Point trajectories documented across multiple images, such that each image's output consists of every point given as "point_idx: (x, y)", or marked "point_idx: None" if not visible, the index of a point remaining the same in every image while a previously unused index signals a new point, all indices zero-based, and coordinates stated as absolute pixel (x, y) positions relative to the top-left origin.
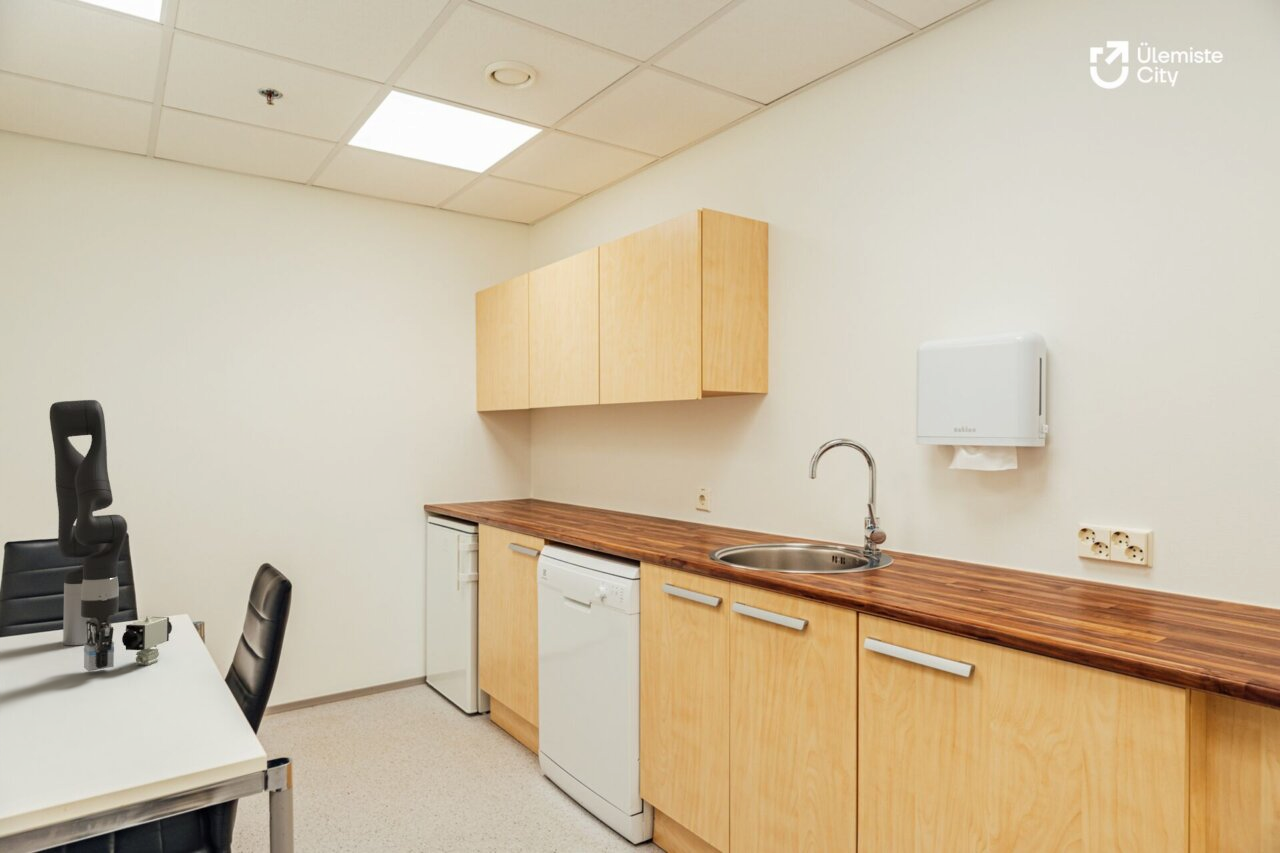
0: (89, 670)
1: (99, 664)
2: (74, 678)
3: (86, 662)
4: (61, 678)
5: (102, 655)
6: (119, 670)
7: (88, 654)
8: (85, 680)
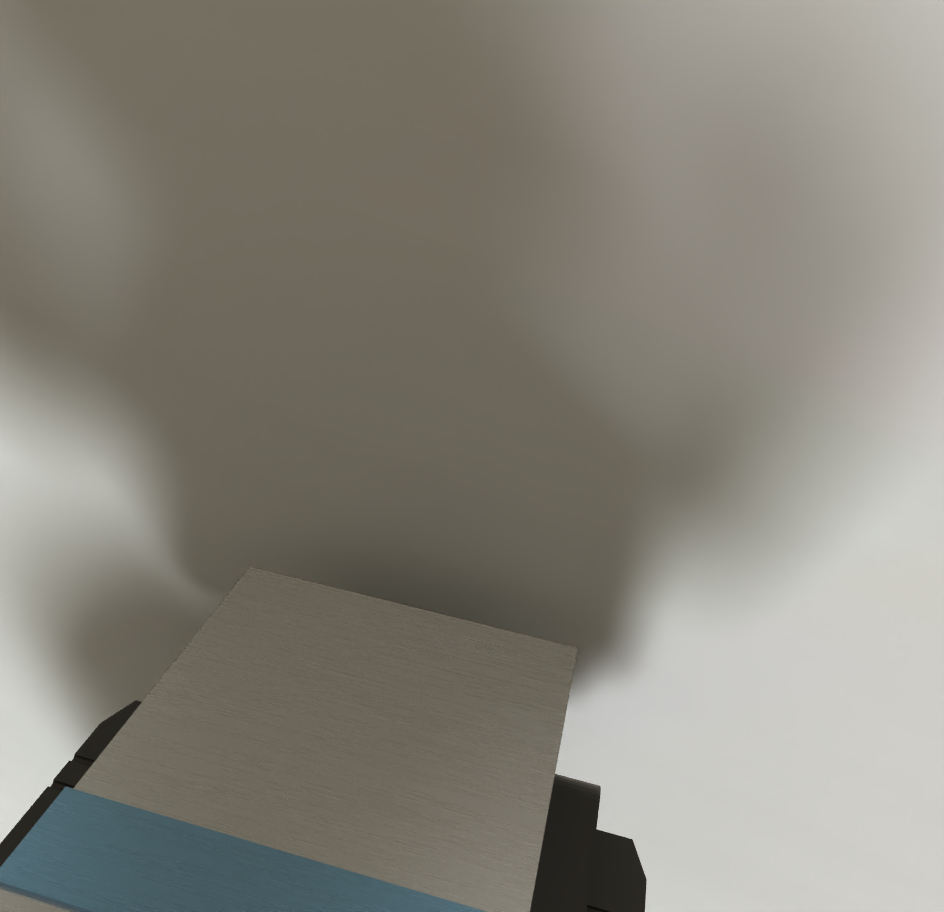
0: (243, 581)
1: (111, 719)
2: (388, 376)
3: (376, 700)
4: (594, 255)
5: None
6: None
7: (91, 819)
8: (135, 408)
